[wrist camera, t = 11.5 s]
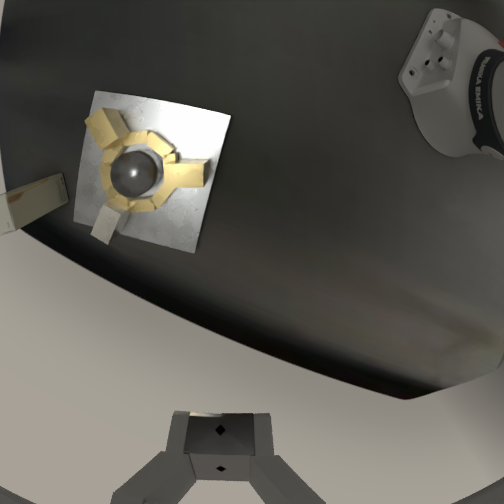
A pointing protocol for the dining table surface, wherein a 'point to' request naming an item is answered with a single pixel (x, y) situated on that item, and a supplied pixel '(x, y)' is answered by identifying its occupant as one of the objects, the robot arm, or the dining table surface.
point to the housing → (153, 168)
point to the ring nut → (115, 141)
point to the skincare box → (31, 202)
